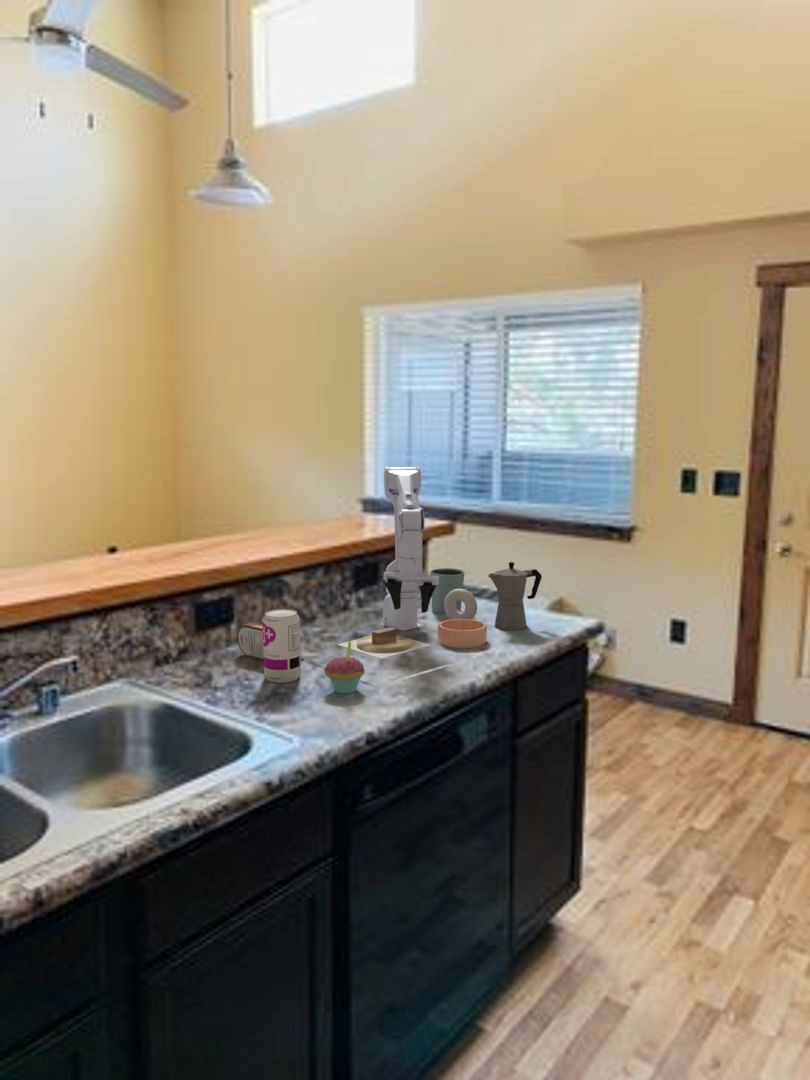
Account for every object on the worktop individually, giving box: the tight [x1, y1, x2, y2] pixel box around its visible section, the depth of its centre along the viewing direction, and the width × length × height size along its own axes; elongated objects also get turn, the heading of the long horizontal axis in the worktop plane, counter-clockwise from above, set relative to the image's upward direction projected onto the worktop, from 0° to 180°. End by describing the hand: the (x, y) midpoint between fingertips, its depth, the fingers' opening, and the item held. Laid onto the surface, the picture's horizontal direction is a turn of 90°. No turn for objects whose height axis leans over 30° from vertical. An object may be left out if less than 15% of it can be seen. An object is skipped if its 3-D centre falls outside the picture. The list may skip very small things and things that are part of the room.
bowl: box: [437, 619, 488, 649], centre depth 220 cm, size 12×12×5 cm
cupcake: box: [324, 637, 365, 694], centre depth 183 cm, size 9×8×12 cm
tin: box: [236, 621, 264, 661], centre depth 207 cm, size 15×3×8 cm, turn 54°
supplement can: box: [262, 609, 302, 684], centre depth 191 cm, size 8×8×15 cm
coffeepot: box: [487, 561, 543, 631], centre depth 236 cm, size 15×9×18 cm, turn 103°
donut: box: [444, 588, 478, 620], centre depth 239 cm, size 10×3×10 cm, turn 61°
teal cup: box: [429, 567, 465, 615], centre depth 254 cm, size 10×10×12 cm
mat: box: [337, 638, 432, 660], centre depth 217 cm, size 17×17×1 cm
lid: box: [356, 626, 412, 653], centre depth 216 cm, size 14×14×4 cm
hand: (410, 610), depth 215 cm, fingers open, 7 cm apart
